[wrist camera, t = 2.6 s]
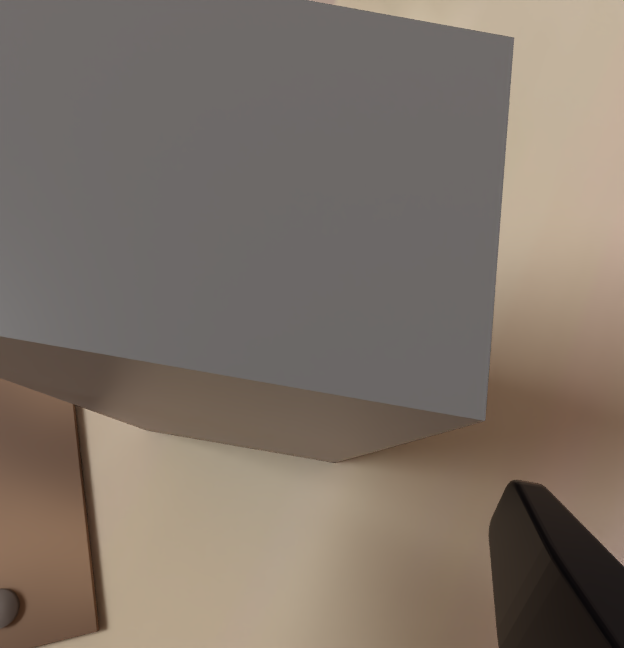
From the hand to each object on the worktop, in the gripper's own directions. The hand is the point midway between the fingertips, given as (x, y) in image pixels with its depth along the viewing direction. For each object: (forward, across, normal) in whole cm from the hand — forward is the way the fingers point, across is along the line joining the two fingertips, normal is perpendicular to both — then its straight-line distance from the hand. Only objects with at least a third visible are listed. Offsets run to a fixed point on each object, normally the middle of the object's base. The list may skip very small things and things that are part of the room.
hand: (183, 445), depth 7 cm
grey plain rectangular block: (+9, 0, +5) cm, 10 cm away
